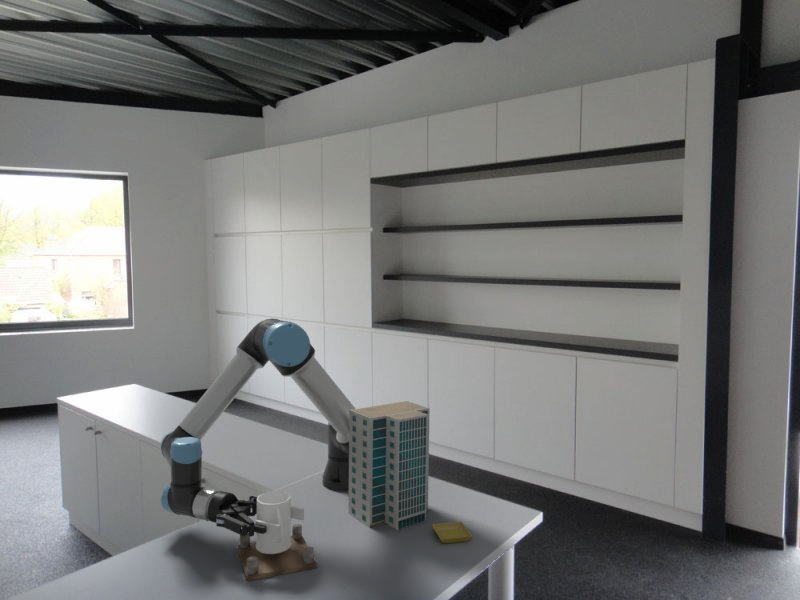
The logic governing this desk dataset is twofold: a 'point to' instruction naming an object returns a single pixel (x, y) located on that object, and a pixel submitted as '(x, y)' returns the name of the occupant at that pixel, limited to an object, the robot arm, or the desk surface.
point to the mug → (274, 521)
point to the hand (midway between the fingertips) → (291, 522)
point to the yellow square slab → (452, 532)
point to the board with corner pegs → (276, 557)
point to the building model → (389, 464)
